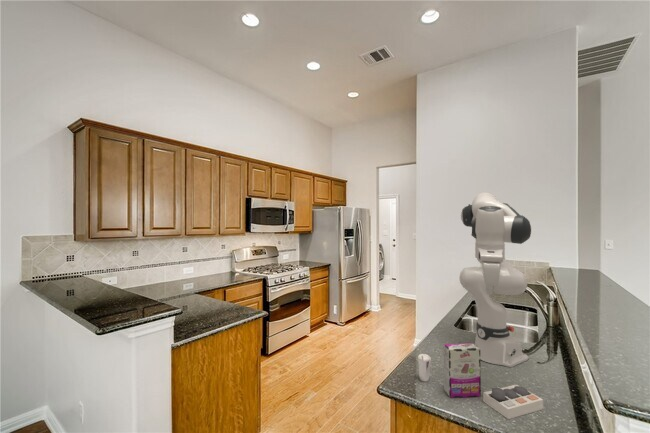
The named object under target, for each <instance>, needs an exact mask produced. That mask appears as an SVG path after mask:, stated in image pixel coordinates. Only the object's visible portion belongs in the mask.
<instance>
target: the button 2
mask: <svg viewBox="0 0 650 433" xmlns="http://www.w3.org/2000/svg"><path fill="white" fill-rule="evenodd" d="M514 391H515V392H516V393H518V394H519V395H521V396H526V395H528V391H529V390H528V389H527V388H525V387H524V386H521V385H519V386H515V387H514Z"/></svg>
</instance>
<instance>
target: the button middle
mask: <svg viewBox="0 0 650 433" xmlns="http://www.w3.org/2000/svg"><path fill="white" fill-rule="evenodd" d="M504 391H505V396H507V397H508V398H510V399H515V398H517V393H516V392H515V391H513V390H511V389H504Z"/></svg>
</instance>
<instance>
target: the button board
mask: <svg viewBox="0 0 650 433" xmlns="http://www.w3.org/2000/svg"><path fill="white" fill-rule="evenodd" d="M515 386H520V385H518V384H513V385H508V386H504V387H501V388H500V387H499V388H500V389H502V390H504V389H511V390H513V391H514V387H515ZM482 395H483V399H482V400H483V402H484V403H485V404H486V405H488V406H489V407H490V408H492V409H493V410H495V411H496V412H497V413H499V414H500V415H502V416H503V417H505V418H506V419H507V420H510V419H514V418H517V417H521V416H523V415H524V416H525V415H527V414H530V413H531V414H532V413H534V412H538V411H541V410H544V399H543V398H542V397H540V396H538V395H536V394H534V393H533V392H531V391H529V390H528V395H526V396H521V395H519V394H518V393H517V398H515V399H510V398H508V397H507V396H505V401H503V402H498V401H496V400H495V399H493V398H492V389H491V390H487V391H484V392H483V393H482Z"/></svg>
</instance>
